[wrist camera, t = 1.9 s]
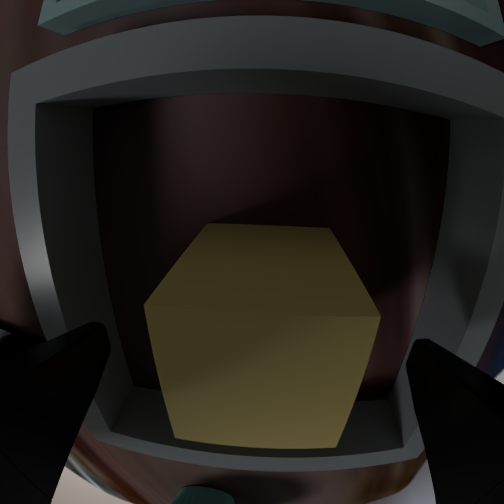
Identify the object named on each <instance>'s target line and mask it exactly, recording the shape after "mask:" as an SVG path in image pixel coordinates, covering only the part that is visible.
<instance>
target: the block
mask: <svg viewBox="0 0 504 504" xmlns="http://www.w3.org/2000/svg"><path fill="white" fill-rule="evenodd" d="M144 309H145V315H146V321H147V326H148V331H149V336H150V341H151V346H152V351H153V356H154V360H155V365H156V369H157V373H158V377H159V382H160V386H161V390H162V393H163V397H164V401H165V405H166V408H167V412H168V416H169V419H170V423H171V426H172V429H173V433H174V436H175V438H178V439H184V440H190V441H196V442H203V443H211V444H220V445H229V446H240V447H254V448H279V449H310V448H334V447H336V446H337V444H338V441H339V439H340V437H341V434H342V432H343V430H344V427H345V425H346V422H347V420H348V417H349V415H350V412H351V409H352V407H353V404H354V402H355V399H356V396H357V393H358V390H359V388H360V385H361V382H362V379H363V376H364V373H365V370H366V367H367V364H368V360H369V357H370V354H371V351H372V347H373V344H374V340H375V337H376V333H377V330H378V326H379V322H380V318H381V315H380V313H379V312H378V310H377V308H376V306H375V304H374V303H373V301H372V299H371V297H370V295H369V294H368V292H367V290H366V288H365V286H364V285H363V283H362V281H361V279H360V278H359V276H358V274H357V273H356V271H355V269H354V267H353V266H352V264H351V262H350V261H349V259H348V257H347V256H346V254H345V252H344V251H343V249H342V247H341V246H340V244H339V242H338V241H337V239H336V238H335V236H334V234H333V233H332V231H331V230H330V228H317V227H297V226H274V225H249V224H219V223H207V224H206V225H205V227H204V228H203V229H202V230H201V232H200V233H199V234H198V235H197V237H196V238H195V239H194V240H193V242H192V243H191V244H190V245H189V247H188V248H187V249H186V250H185V252H184V253H183V254H182V255H181V257H180V258H179V259H178V261H177V262H176V263H175V264H174V266H173V267H172V268H171V270H170V271H169V272H168V273H167V275H166V276H165V277H164V279H163V280H162V281H161V283H160V284H159V285H158V286H157V288H156V289H155V290H154V292H153V293H152V294H151V296H150V297H149V298H148V300H147V301H146V302H145V304H144Z"/></svg>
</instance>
